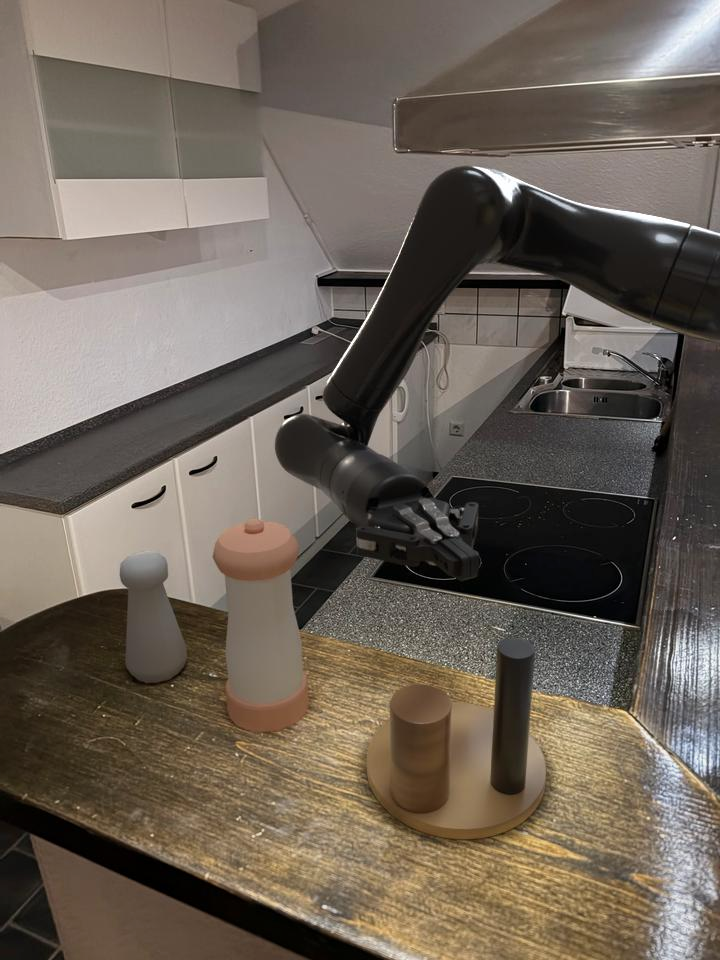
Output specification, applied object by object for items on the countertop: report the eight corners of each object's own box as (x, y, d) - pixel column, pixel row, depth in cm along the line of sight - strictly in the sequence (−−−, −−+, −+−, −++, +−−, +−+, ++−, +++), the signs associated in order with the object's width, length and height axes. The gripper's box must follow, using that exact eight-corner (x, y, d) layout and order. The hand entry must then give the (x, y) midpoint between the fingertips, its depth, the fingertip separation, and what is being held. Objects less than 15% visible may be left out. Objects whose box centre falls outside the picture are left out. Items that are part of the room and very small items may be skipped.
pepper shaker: (322, 698, 70) (313, 509, 63) (287, 750, 64) (272, 546, 57) (253, 681, 73) (237, 498, 66) (212, 730, 67) (189, 532, 60)
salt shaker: (146, 656, 77) (128, 541, 73) (198, 661, 76) (185, 545, 71) (117, 691, 72) (97, 570, 67) (174, 698, 71) (157, 575, 66)
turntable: (573, 752, 62) (587, 613, 57) (494, 872, 51) (504, 715, 46) (425, 691, 69) (426, 564, 65) (331, 784, 59) (324, 642, 54)
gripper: (315, 472, 73) (396, 544, 58) (436, 450, 78) (540, 511, 63) (319, 543, 75) (398, 629, 61) (436, 517, 80) (535, 591, 65)
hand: (470, 569), depth 62 cm, fingers closed
